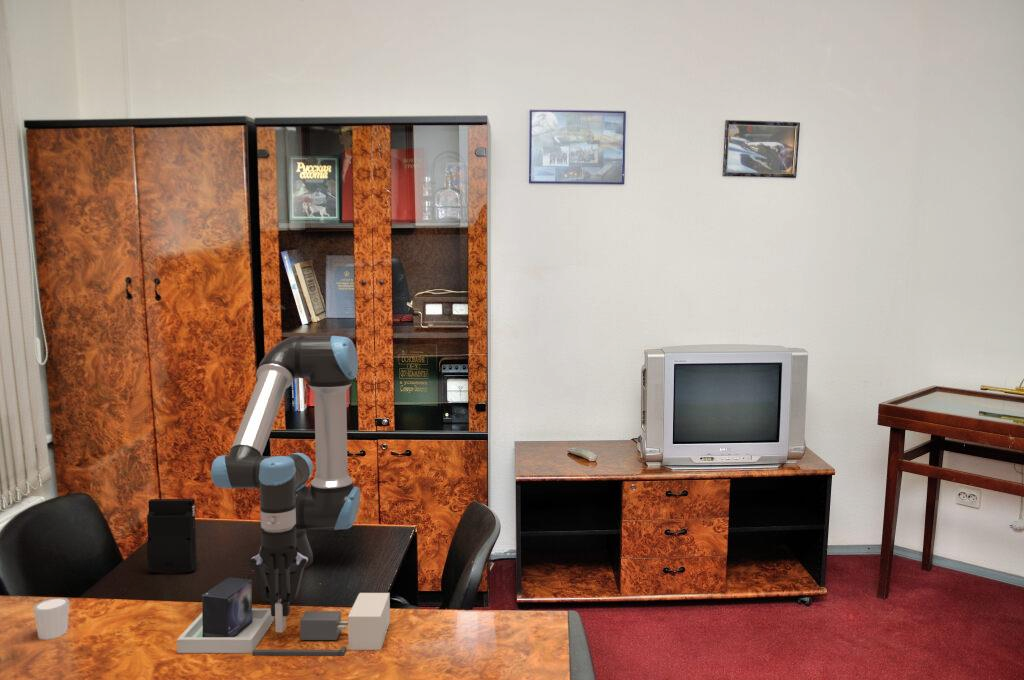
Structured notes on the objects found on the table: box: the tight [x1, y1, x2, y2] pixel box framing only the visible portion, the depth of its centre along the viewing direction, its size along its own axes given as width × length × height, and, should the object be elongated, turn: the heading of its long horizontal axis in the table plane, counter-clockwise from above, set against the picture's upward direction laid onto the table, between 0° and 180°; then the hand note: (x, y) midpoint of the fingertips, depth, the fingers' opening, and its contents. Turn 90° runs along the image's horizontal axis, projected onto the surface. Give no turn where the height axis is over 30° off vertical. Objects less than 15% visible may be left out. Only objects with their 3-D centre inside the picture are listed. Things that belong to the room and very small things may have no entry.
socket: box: [347, 592, 391, 651], centre depth 164 cm, size 12×7×8 cm, turn 0°
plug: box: [299, 610, 348, 641], centre depth 164 cm, size 4×10×4 cm, turn 90°
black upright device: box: [146, 498, 198, 575], centre depth 199 cm, size 12×5×20 cm, turn 92°
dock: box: [176, 607, 275, 654], centre depth 164 cm, size 15×16×3 cm
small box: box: [201, 576, 253, 637], centre depth 164 cm, size 11×6×10 cm, turn 169°
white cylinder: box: [33, 597, 70, 641], centre depth 165 cm, size 7×7×7 cm
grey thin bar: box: [251, 645, 347, 657], centre depth 157 cm, size 2×20×1 cm, turn 90°
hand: (280, 629), depth 164 cm, fingers closed
